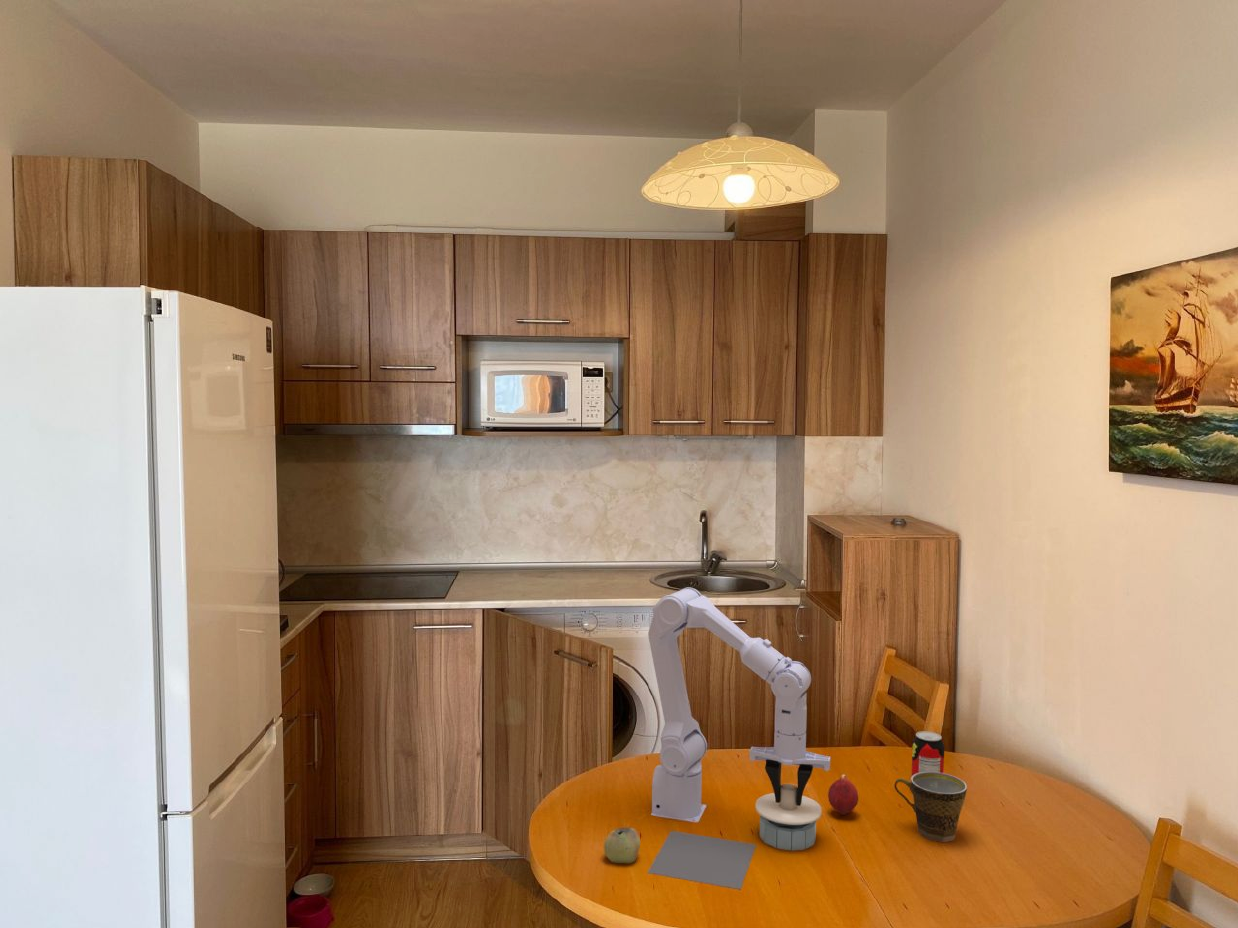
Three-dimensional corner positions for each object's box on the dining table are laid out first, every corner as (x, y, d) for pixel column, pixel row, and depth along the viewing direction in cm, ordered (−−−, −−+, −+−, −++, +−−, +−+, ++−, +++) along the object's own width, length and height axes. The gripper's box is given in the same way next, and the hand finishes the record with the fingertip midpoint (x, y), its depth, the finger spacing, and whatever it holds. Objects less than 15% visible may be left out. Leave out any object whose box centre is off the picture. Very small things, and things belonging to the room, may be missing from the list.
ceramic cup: (966, 827, 172) (968, 777, 171) (963, 851, 163) (965, 797, 162) (896, 814, 177) (898, 764, 177) (889, 835, 168) (890, 784, 168)
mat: (647, 875, 153) (647, 872, 153) (671, 833, 168) (671, 830, 168) (740, 892, 148) (740, 889, 148) (756, 847, 163) (756, 844, 163)
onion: (858, 822, 174) (859, 782, 173) (827, 819, 175) (829, 779, 174) (856, 809, 179) (858, 770, 179) (827, 806, 180) (828, 767, 180)
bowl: (756, 847, 163) (756, 826, 163) (764, 823, 173) (765, 803, 172) (812, 856, 160) (812, 834, 160) (817, 831, 170) (818, 811, 169)
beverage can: (945, 789, 189) (947, 734, 188) (938, 800, 184) (940, 743, 183) (915, 782, 193) (917, 727, 192) (907, 793, 187) (909, 736, 186)
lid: (750, 818, 162) (750, 795, 162) (761, 791, 174) (761, 770, 173) (818, 829, 158) (818, 805, 158) (824, 800, 170) (825, 779, 170)
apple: (652, 866, 156) (653, 833, 156) (608, 872, 154) (608, 839, 154) (643, 850, 162) (643, 818, 162) (600, 855, 160) (600, 823, 159)
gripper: (747, 732, 164) (745, 805, 164) (828, 742, 159) (826, 817, 160) (753, 719, 170) (752, 789, 171) (831, 729, 166) (830, 800, 167)
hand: (788, 801), depth 166 cm, fingers closed on lid, 3 cm apart
